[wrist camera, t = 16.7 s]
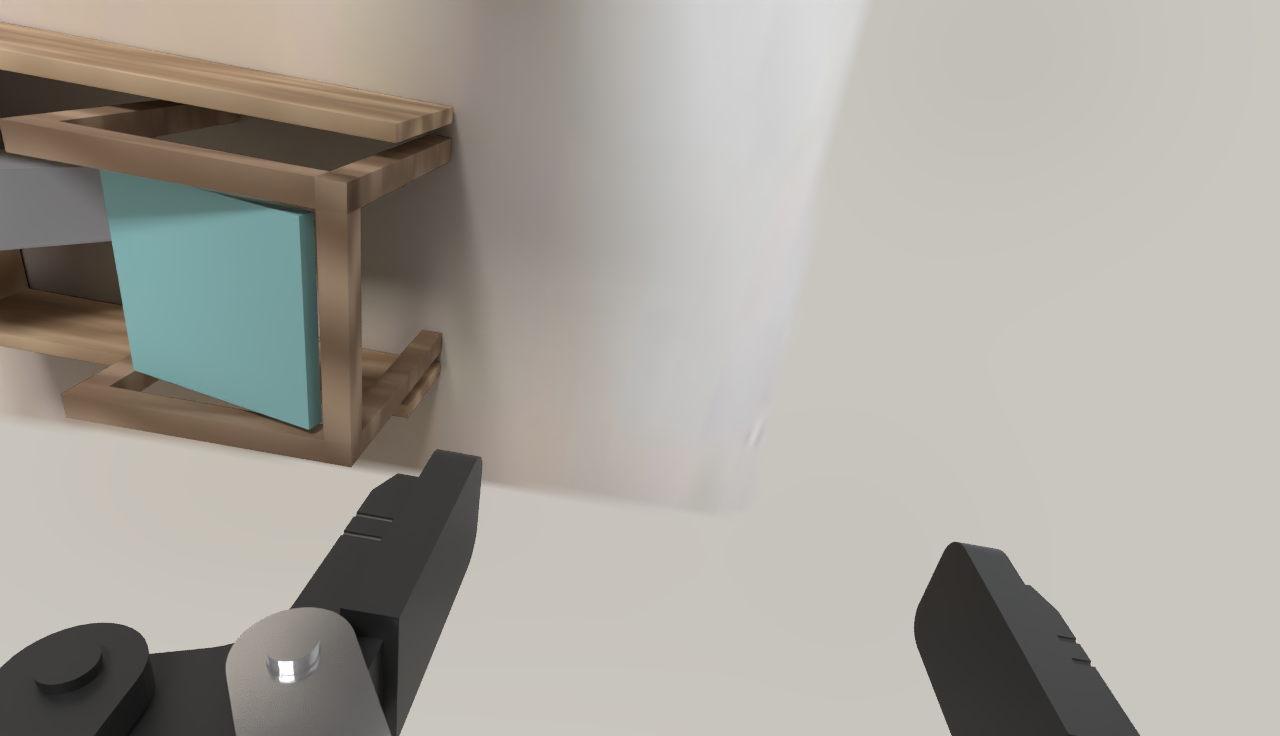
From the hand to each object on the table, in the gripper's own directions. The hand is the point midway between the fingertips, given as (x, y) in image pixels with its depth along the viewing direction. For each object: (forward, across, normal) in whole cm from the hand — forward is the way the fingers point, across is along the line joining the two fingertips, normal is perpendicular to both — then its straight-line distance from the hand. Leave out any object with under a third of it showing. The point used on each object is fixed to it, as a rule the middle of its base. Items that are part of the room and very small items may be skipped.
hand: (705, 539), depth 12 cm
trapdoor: (+25, +24, +9) cm, 35 cm away
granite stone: (+28, +46, +9) cm, 54 cm away
